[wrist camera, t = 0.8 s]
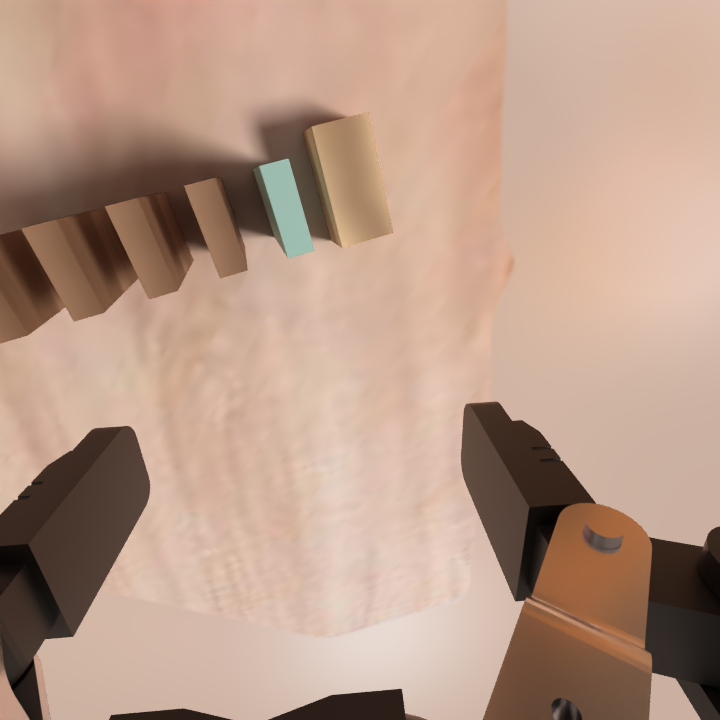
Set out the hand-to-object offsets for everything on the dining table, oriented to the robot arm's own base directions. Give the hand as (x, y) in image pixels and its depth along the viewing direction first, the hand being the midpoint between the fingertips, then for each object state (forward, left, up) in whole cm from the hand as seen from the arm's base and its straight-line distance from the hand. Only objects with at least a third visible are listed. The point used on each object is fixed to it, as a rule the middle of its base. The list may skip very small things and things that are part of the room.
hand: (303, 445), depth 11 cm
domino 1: (-14, -1, -26) cm, 30 cm away
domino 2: (-10, +1, -26) cm, 28 cm away
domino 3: (-6, +2, -26) cm, 27 cm away
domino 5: (+1, +5, -26) cm, 27 cm away
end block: (+6, +6, -26) cm, 28 cm away
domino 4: (-3, +3, -26) cm, 27 cm away
